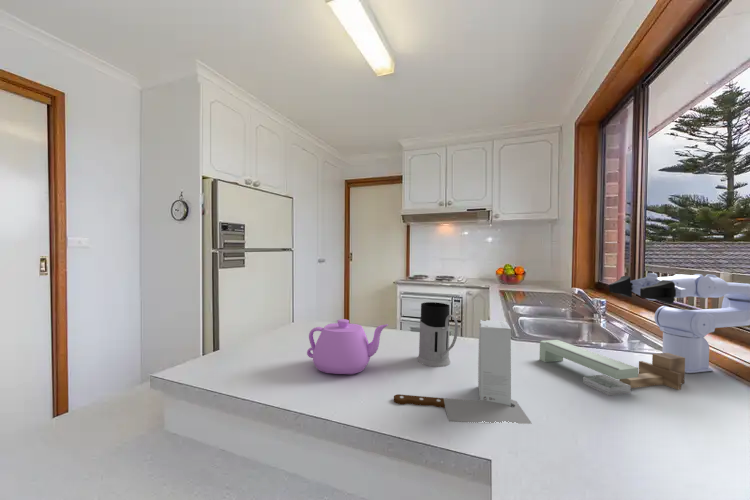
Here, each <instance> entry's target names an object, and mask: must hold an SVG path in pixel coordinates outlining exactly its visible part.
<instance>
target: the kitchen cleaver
mask: <svg viewBox="0 0 750 500" xmlns="http://www.w3.org/2000/svg"><path fill="white" fill-rule="evenodd" d="M393 403H395V404H397V405H408V404H409V405H414V406H421V407H422V406H423V407H424V406H425V407H426V406H427V407H428V406H432V407H436V408H443V409H444V410H445V414H446V417H447V420H448V422H449V423H453V422H454V423H467V424H469V423H470V422H471V424H479V423H478V422H482V421H483V422H484V421H485V422H489V423H488V424H491V423H494V422H495V421H496V422H499V423H500V422H501V423H502V421H503V422H504V421H506V422H508V421H509V422H512V423H514V422H516V423H518V424H519V425H520V424H523V425H524V424H527V425H529V424H530V425H533V424H532V421H531V420H530V419H529V417H528V416H527V414H526V413H525V411H524V410H523V408H522V406H520V404H519V403H518V401H517V400H514V399H512V398H511V407H509V406H508V405H506V404H501V403H496V402H491V401H487V400H480V399H461V398H460V399H459V398H447V397H446V398H444V397H433V396H432V397H431V396H424V395H423V396H422V395H420V396H419V395H409V394H394V395H393ZM512 406H513V407H512ZM468 422H469V423H468ZM472 422H473V423H472ZM474 422H475V423H474ZM476 422H477V423H476ZM485 422H484V423H483V424H486V423H485ZM490 422H491V423H490ZM496 422H495V423H496ZM509 422H508V423H509Z"/></svg>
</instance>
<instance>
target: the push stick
mask: <svg viewBox="0 0 750 500" xmlns="http://www.w3.org/2000/svg"><path fill="white" fill-rule="evenodd" d="M651 357H652V360H651V363H649V362H646V361H643V360H640V361H638V377H636V378H626V379H618V381H620V382H623V383H625V384H628V385H630V386H631V389H636V388H644V387H653V386H654V387H655V386H660V385H663V386H666V387H669V388H671V389H675V390H677V391H680V390H682V384H685V376H686V375H685V374H686V372H685V358H684V357H681V356H677V355H674V354H670V353H661V352H660V353H652V355H651Z"/></svg>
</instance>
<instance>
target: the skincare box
mask: <svg viewBox="0 0 750 500" xmlns="http://www.w3.org/2000/svg"><path fill="white" fill-rule="evenodd" d="M478 325H479V328H478V329H479V330H478V331H479V332H478V363H477V364H478V366H477V367H478V369H477V370H478V371H477V372H478V373H477V377H478V378H477V379H478V380H477V381H478V385H477V386H478V394H479V400H487V401H491V402H496V403H501V404H506V405H508V406H509V407H512V406H511V399H512V352H511V351H512V348H511V347H512V346H511V345H512V340H511V339H512V338H511V337H512V336H511V335H512V328H511V327H510V325H509V323H508V321H505V320H504V321H503V320H492V319H491V320H490V319H488V320H487V319H479V324H478Z"/></svg>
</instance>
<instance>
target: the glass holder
mask: <svg viewBox="0 0 750 500" xmlns="http://www.w3.org/2000/svg"><path fill="white" fill-rule="evenodd" d="M419 318H420V319H419V320H420V321H419V343H418V344H419V345H418V355H417V362H418V363H420V364H422V365H423V366H428V367H433V368H436V367H437V368H442V367H447V366H449V365H450V364H451V360H450V351H451V350H452V349H453V347H454V346H455V343H456V341H457V337H458V335H459V333H458V331H459V323H458V320H457V317H456V316H455V315H453V314H450V304H448V303H444V302H435V301H434V302H433V301H432V302H431V301H429V302H422V303H421V304H420V317H419ZM451 318H452V320H454V321H453V322H454V333H453V334H454V336H453V339H452V342H451V344H450V332H451V331H450V330H451V326H450V325H451V324H450V319H451Z"/></svg>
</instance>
